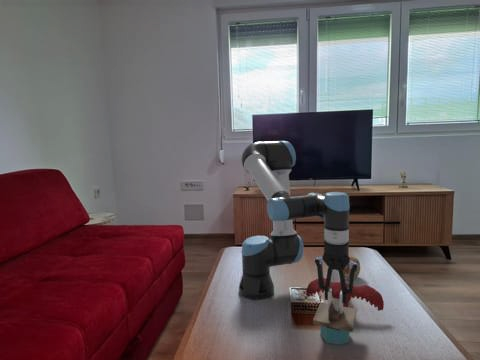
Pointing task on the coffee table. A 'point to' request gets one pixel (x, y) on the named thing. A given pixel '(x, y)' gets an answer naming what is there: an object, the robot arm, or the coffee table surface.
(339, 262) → the robot arm
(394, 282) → the coffee table surface
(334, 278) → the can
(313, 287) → the decorative bird sculpture
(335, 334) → the teal bowl
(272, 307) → the coffee table surface
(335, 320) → the walnut lid
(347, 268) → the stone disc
